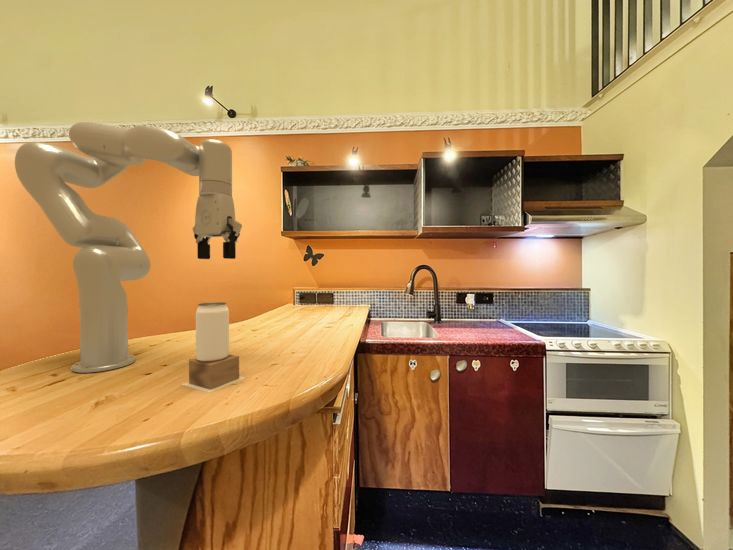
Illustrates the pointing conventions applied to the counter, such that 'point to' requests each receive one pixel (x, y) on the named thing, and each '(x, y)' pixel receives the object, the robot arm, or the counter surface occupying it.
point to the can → (212, 331)
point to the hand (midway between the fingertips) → (216, 258)
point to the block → (213, 372)
